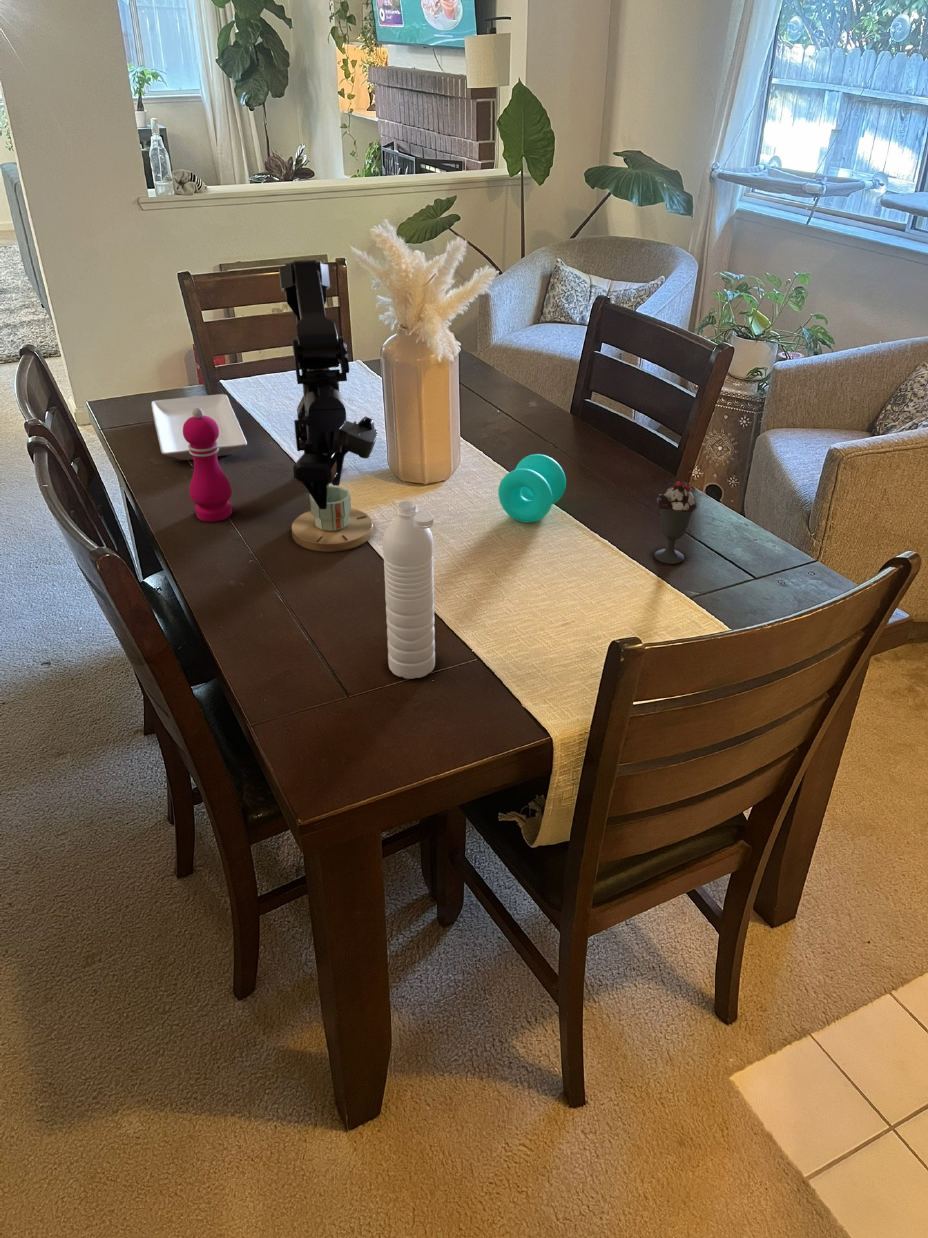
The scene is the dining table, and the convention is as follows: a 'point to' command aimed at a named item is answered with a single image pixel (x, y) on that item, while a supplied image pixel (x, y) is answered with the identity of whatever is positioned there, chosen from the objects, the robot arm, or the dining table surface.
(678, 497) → the sundae
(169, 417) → the tray
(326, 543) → the turntable
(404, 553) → the water bottle
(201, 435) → the pepper mill
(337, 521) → the green cup
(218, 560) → the dining table surface
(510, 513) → the teal yo-yo
